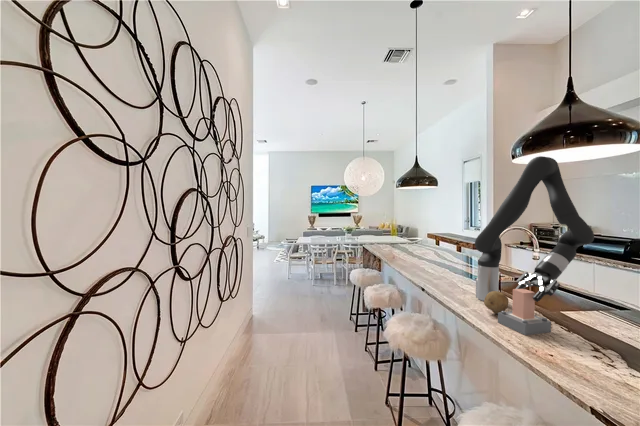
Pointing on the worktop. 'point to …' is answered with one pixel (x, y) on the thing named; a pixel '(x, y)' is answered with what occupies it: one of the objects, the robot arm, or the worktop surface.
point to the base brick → (524, 323)
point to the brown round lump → (496, 301)
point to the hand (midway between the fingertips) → (525, 296)
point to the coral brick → (523, 303)
